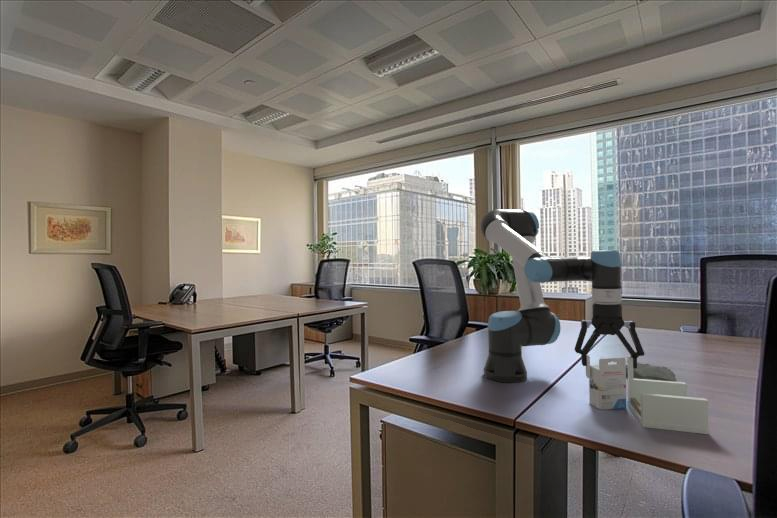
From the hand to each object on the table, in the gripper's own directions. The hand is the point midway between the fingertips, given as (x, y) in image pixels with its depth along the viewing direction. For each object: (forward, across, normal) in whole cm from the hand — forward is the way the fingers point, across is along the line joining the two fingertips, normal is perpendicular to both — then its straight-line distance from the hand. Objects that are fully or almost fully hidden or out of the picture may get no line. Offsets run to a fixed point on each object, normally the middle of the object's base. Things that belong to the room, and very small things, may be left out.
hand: (609, 378), depth 112 cm
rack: (+9, +12, -5) cm, 16 cm away
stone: (+9, +19, +33) cm, 39 cm away
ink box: (+9, -1, 0) cm, 9 cm away
